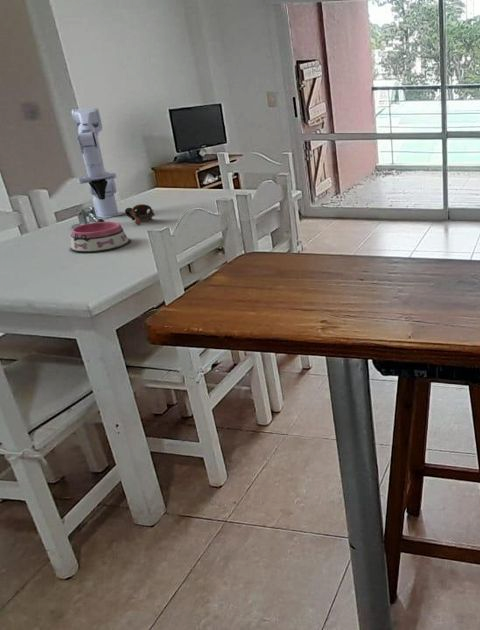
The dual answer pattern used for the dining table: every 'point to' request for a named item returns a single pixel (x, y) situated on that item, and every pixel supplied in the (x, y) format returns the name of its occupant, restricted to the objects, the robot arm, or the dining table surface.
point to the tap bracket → (84, 216)
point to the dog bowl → (98, 237)
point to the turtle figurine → (139, 213)
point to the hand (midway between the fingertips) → (102, 199)
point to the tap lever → (88, 213)
